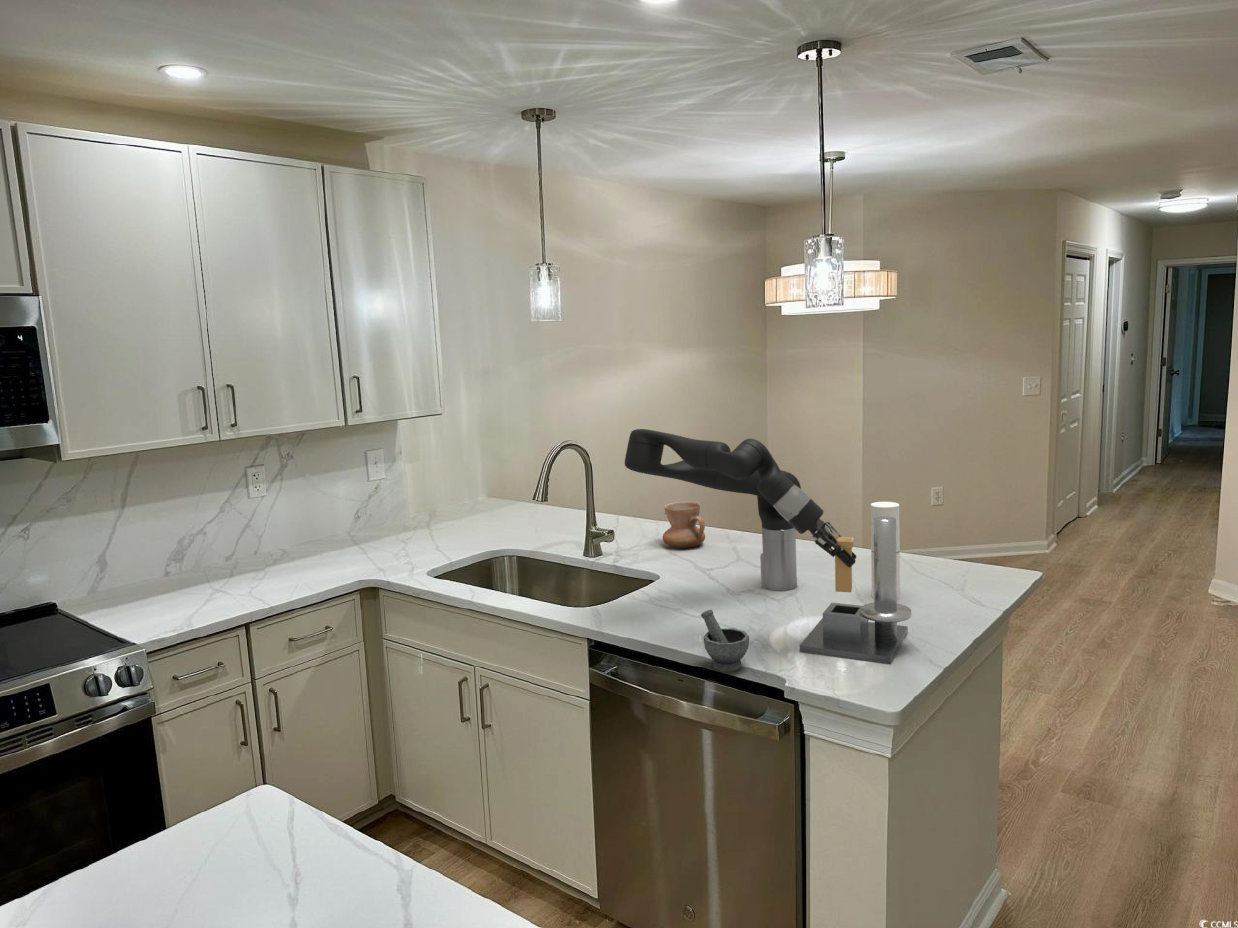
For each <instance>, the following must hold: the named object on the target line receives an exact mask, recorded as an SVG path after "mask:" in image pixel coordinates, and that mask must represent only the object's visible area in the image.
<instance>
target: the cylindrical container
mask: <svg viewBox="0 0 1238 928" xmlns="http://www.w3.org/2000/svg"><path fill="white" fill-rule="evenodd" d="M876 517H894V518H896V563H897V600H899V599H900V598H901V587H900V585H901V580H900V579H901V574H900V572H901V569H900V568H901V565H900V564H901V563H900V562H901V559H900V557H901V556H900V554H901V553H900V551H901V549H900V547H901V546H900V545H901V544H900V504H899V503H898V502H894V501H875V502H872V503H870V538H871V540H870V545H871V546H870V547H871V550H870V552H871V553H870V554H871V555H870V557H871V559H870V560H871V562H870V563H871V597H872V598H873V599H874V518H876Z"/></svg>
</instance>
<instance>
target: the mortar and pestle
mask: <svg viewBox="0 0 1238 928" xmlns="http://www.w3.org/2000/svg"><path fill="white" fill-rule="evenodd" d="M700 616H701V618H702V619H703V620H704V622H705V625H706V628H707V630H708V631H707V632H706V633H705V634H704V635H703V644H704V649H705V650H706V651H705V652H706V653H707V654H708V656H709V657H710V658H711V659H712V660H713V662H712V666H713V668H714V670H716V671H720V672H734V671H738V670H740V669H741V667H743V665H742V659H743V658H744V657H745V655H746V653H747V652H748V650H749V647H750V646H749V645H750V635H749V634H748V633H747V632H746V631H744V630H740V629H737V628H721V626H720V624H719V622H718V621H717V619H716V618H715V615H714V610H713V609H707V610H705V611H703V612H702V613H700Z"/></svg>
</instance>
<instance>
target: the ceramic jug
mask: <svg viewBox="0 0 1238 928" xmlns="http://www.w3.org/2000/svg"><path fill="white" fill-rule="evenodd" d="M700 512H701V504H700V503H699V502H695V501H677V502H675V501H674V502H671V503H667V504H665V505H664V515H665V516H666V518H667V520H668V522H669V524H670V527H669V528H668V529H666V531H665V532H664V533H663V534H662V540H663V543H664V544H665V545H667V546H669V547H672V548H675V549H676V548H677V549H687V548H689V549H690V548H694V547H697V546H699V545H701V544H702V543H703V542H704V541H705V540H706V533H705V527H706V523H705V521H704V519H703V517H701V516H700ZM697 522H698V524H699V527H698V526H696V524H697Z"/></svg>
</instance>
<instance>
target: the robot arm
mask: <svg viewBox="0 0 1238 928" xmlns="http://www.w3.org/2000/svg"><path fill="white" fill-rule="evenodd" d="M665 446H667V447H669V448H670V449H671V450H672V451H674V452H675V453H676V454H677V455H678V456H679V457H680V459H682V460H680V461H676V462H673V463H668V464H667V463H666V464H663V463H662V458H663V453H664V448H665ZM624 466H625V468H627V469H628V470H630V471H632V472H636V473H640V474H646V475H651V476H657V477H661V478H662V477H663V478H668V479H673V480H677V481H683V482H686V483H690V484H694V485H697V486H701V487H704V488H709V489H713V490H719V491H722V492H723V491H724V492H731V493H737V494H738V493H739V494H745V495H754V496H757V511H758V516H759V519H760V520H761V536H762V537H761V538H762V540H761V541H762V553H760V584H761V586H760V587H761V588H765V589H766V590H772V591H789V590H793V589H795V588H797V587H798V578H797V577H798V576H797V572H798V571H797V537H796V536H797V535H796V534H797V533H796V531H797V532H798V533H799V534H801V535H803V534H804V533H806V532H807V531H808V532H810V534H811V535H812V538H813V539H814V544H816V545H817V546H818V547H820V549H822V550H823V551H825V552H826V553H827V554H828V555H830V556H831V557H833V558H835V556H836V557H838V558H839V559H840V560H841V561H842V562H843V563H844V564H845V565H846V566H848V567H851V566H852V567H853V566H854V564H856V561H857V554H856V553H854V552H853V551H852V556H851V555H850V554H849V553H848V552H847V551H846V550H845V549H844V548H843V547H842V546H841V545H839V544H838V543H837V541H838V539H837V538H839V537H842V535H840V533H839V532H838V531H837V530H836V529H835V527H834V526H833V525H832V524H831V522H830V521H826V522H824V521H823V520H822V519H821V517H822V516H823V514H824V513H825V512H824V510H823V508H821V507H820V506H819V505H818V504H817V503H816V502H815V501H814V500H813V499H812V498H811V497H810V496H809V495H808V494H807V493H806V492H805V491H804V490H802V486H801V482H800V481H799V480H798V478H797V477H796V475H794V474H792V473H791V472H789V471H785V470H781V468H780V467H779V464H778V463H777V461H776V460H775V459H774V457H773V455H772V454H771V452H770V450H769V449H768V448H767V446H766V445H765V444H764V443H762V442H761V441H760V440H757V439H754V438H745V439H744V440H743V441H741V442H740V443H739V444H738V445H737V446H736V447H735V448H734V449H733V450H731V448H730V446H729V445H728V444H727V443H726V442H722V441H713V440H704V439H696V438H695V439H694V438H690V437H685V436H681V435H677V434H673V433H668V432H662V431H658V430H653V429H645V428H637V429H633V430H632V431H631V432H630V435H629V436H628V442H627V447H626V452H625V458H624Z"/></svg>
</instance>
